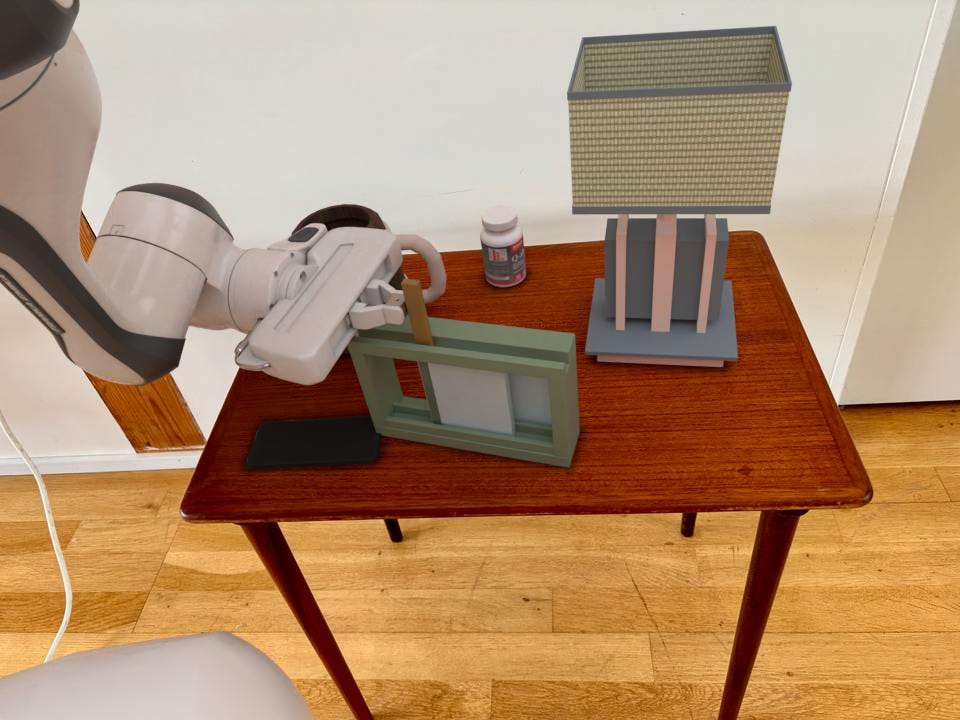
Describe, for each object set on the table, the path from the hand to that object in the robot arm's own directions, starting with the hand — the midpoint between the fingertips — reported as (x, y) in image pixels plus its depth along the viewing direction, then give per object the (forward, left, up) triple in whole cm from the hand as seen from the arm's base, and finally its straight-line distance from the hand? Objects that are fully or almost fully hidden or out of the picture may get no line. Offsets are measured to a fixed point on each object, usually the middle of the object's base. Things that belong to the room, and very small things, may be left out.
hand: (407, 308), depth 67 cm
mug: (+17, +15, -18) cm, 29 cm away
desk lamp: (+21, -21, -18) cm, 35 cm away
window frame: (+1, -4, -18) cm, 18 cm away
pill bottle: (+29, +1, -18) cm, 35 cm away
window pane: (0, -4, -16) cm, 17 cm away
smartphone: (-4, +13, -19) cm, 23 cm away
